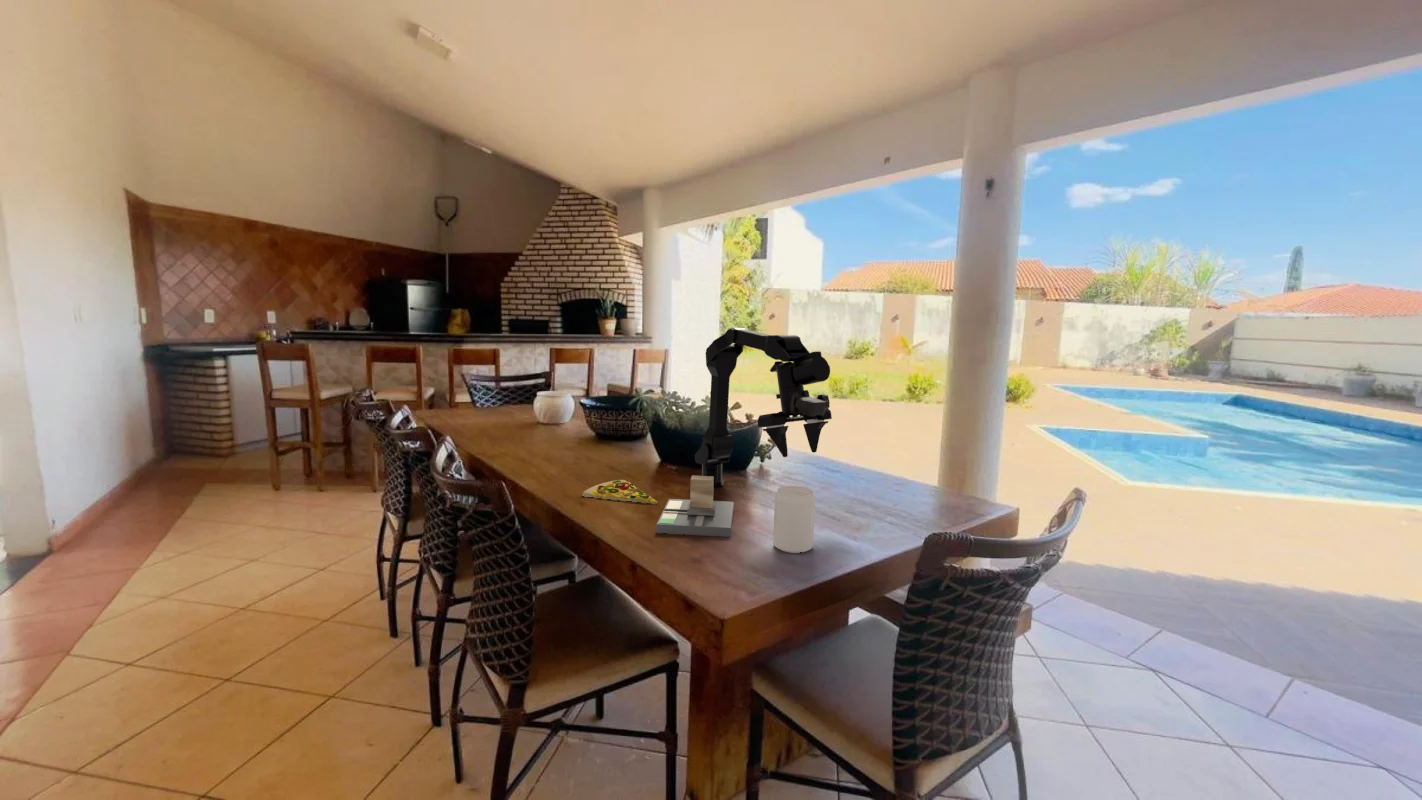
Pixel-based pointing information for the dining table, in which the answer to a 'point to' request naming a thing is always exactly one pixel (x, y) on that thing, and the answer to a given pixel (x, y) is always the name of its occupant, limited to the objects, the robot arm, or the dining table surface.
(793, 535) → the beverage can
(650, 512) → the dining table surface
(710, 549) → the dining table surface
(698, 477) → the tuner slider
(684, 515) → the board
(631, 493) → the pizza slice
